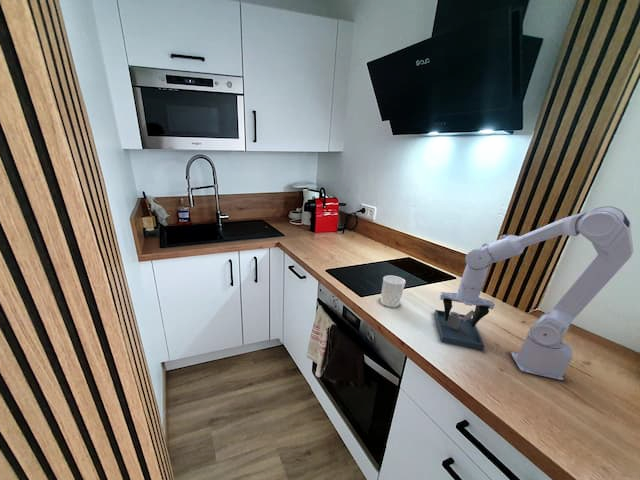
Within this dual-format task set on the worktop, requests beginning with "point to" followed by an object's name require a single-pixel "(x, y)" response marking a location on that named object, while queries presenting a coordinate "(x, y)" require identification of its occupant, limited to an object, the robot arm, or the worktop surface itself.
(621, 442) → the worktop surface
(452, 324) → the lighter
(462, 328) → the tray
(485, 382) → the worktop surface
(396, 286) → the white cup
